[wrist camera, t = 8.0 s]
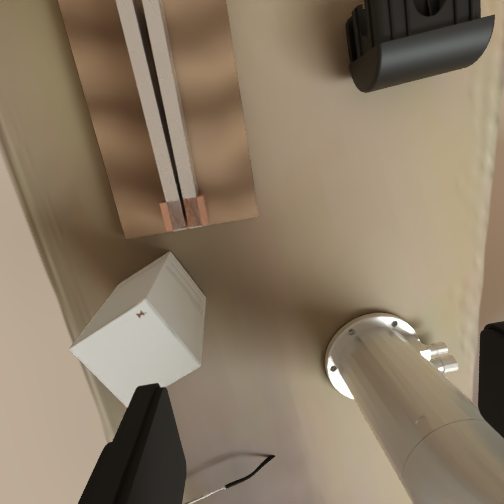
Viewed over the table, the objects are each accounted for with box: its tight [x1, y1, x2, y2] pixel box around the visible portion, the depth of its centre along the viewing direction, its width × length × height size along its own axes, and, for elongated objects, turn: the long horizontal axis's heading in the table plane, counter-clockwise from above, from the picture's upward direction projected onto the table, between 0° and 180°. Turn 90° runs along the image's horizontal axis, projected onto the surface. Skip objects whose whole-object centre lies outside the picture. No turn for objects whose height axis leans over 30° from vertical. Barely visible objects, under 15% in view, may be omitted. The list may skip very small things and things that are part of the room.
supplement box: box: [69, 251, 206, 408], centre depth 30 cm, size 7×7×13 cm
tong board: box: [58, 0, 259, 240], centre depth 28 cm, size 24×14×6 cm, turn 9°
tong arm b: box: [116, 0, 188, 231], centre depth 28 cm, size 19×2×4 cm, turn 10°
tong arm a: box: [142, 0, 209, 228], centre depth 28 cm, size 19×2×4 cm, turn 8°
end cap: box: [346, 0, 495, 93], centre depth 28 cm, size 10×7×7 cm
